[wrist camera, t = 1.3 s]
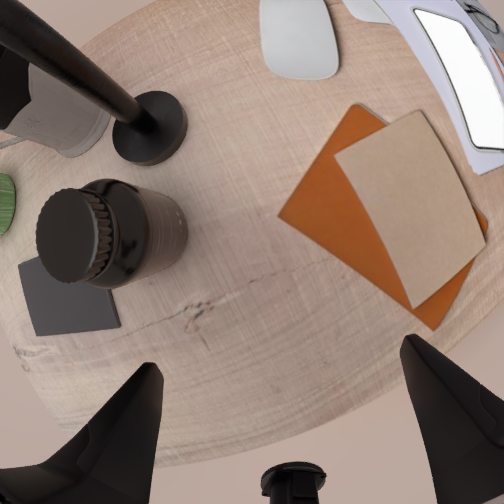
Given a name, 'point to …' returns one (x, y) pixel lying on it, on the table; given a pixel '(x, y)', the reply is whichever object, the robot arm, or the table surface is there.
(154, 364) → the robot arm
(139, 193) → the supplement bottle
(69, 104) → the glass holder
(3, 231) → the ramekin
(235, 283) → the table surface
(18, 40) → the desk lamp
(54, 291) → the slate tile
